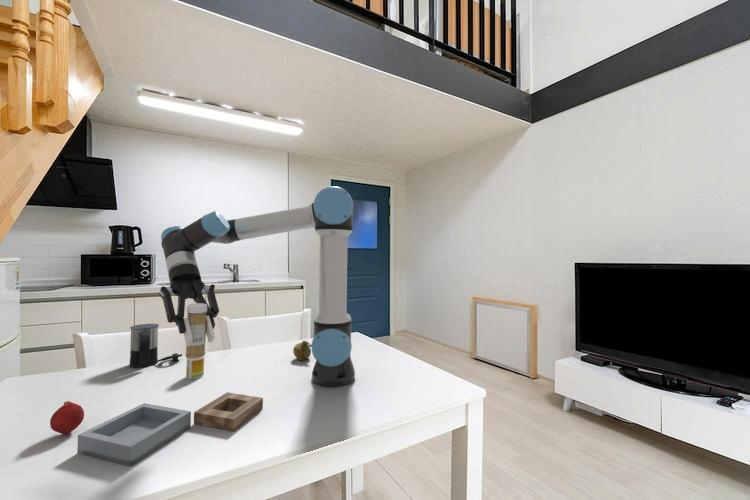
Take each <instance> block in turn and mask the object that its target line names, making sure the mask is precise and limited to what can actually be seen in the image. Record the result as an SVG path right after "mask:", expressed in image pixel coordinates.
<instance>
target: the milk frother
mask: <svg viewBox="0 0 750 500" xmlns="http://www.w3.org/2000/svg"><path fill="white" fill-rule="evenodd" d="M159 326H160V324H159V323H140V324H136V325H135V324H134V325H132V326H130V327H129V329H130V345H129V346H130V353H129V354H130V355H129V356H130V357H129V365H128V367H130V368H146V367H150V366H153V365H155V364H158V363H159V362H162V361H163V362H164V361H168V360H172V361H174V362H175V361H177V360H179V358H180V357H183V354H182V353H180V354H179V353H176V352H175V353H173V354H172V355H170V356H165V357H162V358H160V359H158V347H159V346H158V342H159V341H158V339H159Z"/></svg>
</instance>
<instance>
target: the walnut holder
mask: <svg viewBox="0 0 750 500" xmlns="http://www.w3.org/2000/svg"><path fill="white" fill-rule="evenodd" d="M263 408H264V398H263V397H260V396H259V397H258V396H253V395H246V394H241V393H233V392H225V393H224V394H222V395H220V396H218V397H217V398H216V399H214V400H212V401H211V402H209V403H207V404H205V405H204V406H202V407H200V408H199V409H197V410H195V411H194V412H193V425H195V426H196V425H197V426H203V427H209V428H213V429H217V430H224V431H228V432H235V431H236V430H238V429H239V428H241V426H243V425H244V424H245V423H246V422H248V421H249V420H250V419H251V418H253V417H254V416H256V414H258V413H259V412H260V411H262V410H263ZM228 409H229V410H233V411H227V410H228Z"/></svg>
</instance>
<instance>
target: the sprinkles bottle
mask: <svg viewBox="0 0 750 500" xmlns="http://www.w3.org/2000/svg"><path fill="white" fill-rule="evenodd" d="M207 304H208V303H207ZM207 304H203V303H196V302H195V303H190V304H188V305H187V306H186V314H187V318H188V321H189V325H190V330H191V334H192V338H193V341H192V343H191V345H190V346H185V348H186V349H185V356H184V357H186V359H187V358H200V357H202V356H204V357H205V356H206V339H207V335H206V313H207V312H206V311H207Z"/></svg>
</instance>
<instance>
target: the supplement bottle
mask: <svg viewBox="0 0 750 500" xmlns="http://www.w3.org/2000/svg"><path fill="white" fill-rule="evenodd" d="M185 368H186V369H185V371H186V373H185V375H186V376H185V377H186V379H188V380H194V379H195V380H196V379H199V378H202V377H203V376H204V374H205V373H204V372H205V355H204V356H202V357H200V358H186V367H185Z"/></svg>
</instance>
